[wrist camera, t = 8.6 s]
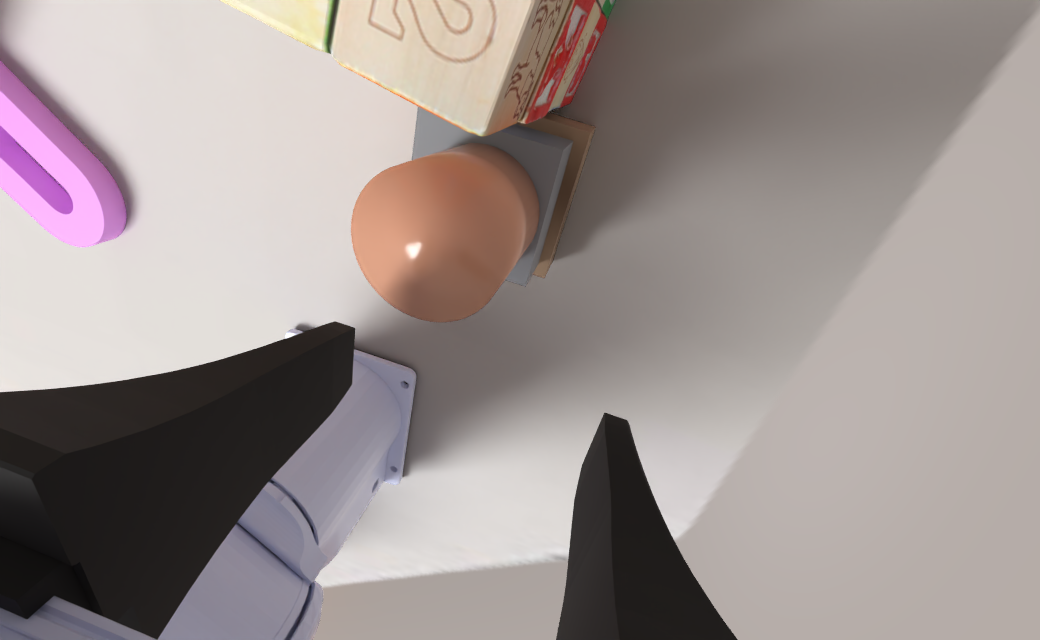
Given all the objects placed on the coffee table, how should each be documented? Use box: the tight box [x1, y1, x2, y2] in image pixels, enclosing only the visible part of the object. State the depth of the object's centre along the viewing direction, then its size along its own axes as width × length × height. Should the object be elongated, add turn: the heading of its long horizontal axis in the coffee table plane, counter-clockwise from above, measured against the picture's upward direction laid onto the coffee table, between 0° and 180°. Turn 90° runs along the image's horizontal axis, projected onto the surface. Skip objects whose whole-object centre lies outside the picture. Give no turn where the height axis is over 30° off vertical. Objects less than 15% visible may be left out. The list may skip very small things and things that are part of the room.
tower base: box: [515, 112, 596, 278], centre depth 20 cm, size 6×6×2 cm
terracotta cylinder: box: [351, 143, 540, 322], centre depth 14 cm, size 4×4×4 cm
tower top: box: [412, 107, 573, 287], centre depth 17 cm, size 5×5×2 cm
